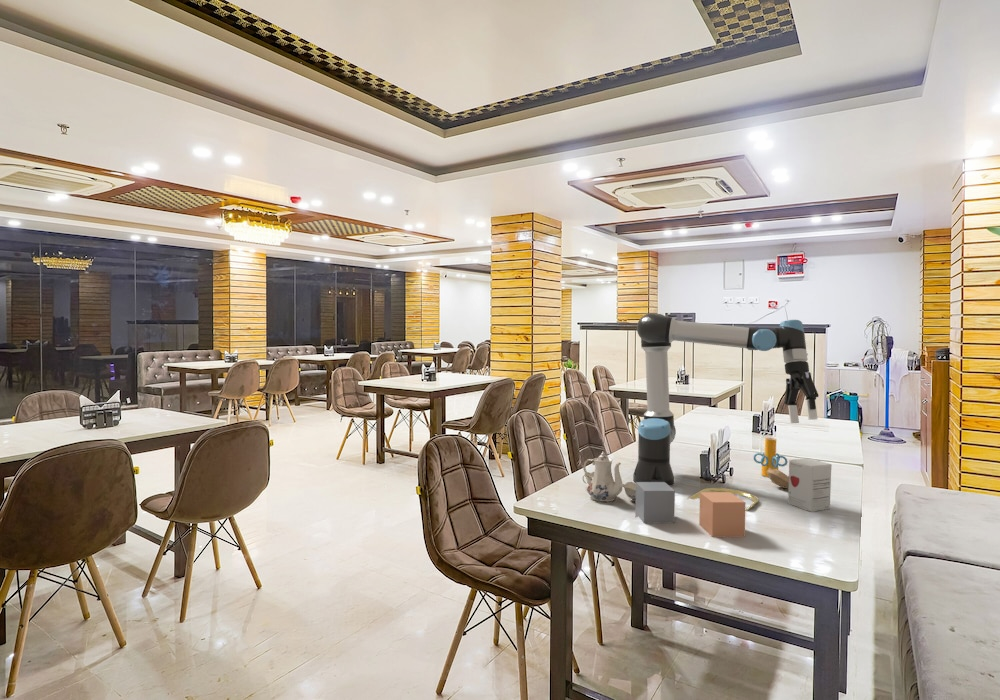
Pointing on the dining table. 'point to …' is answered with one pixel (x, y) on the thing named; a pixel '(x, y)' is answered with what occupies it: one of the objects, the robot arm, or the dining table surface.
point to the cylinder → (769, 457)
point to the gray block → (655, 502)
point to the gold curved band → (727, 491)
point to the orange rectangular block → (722, 514)
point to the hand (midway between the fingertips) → (803, 421)
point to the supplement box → (809, 484)
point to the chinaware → (606, 481)
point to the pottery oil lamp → (778, 477)
